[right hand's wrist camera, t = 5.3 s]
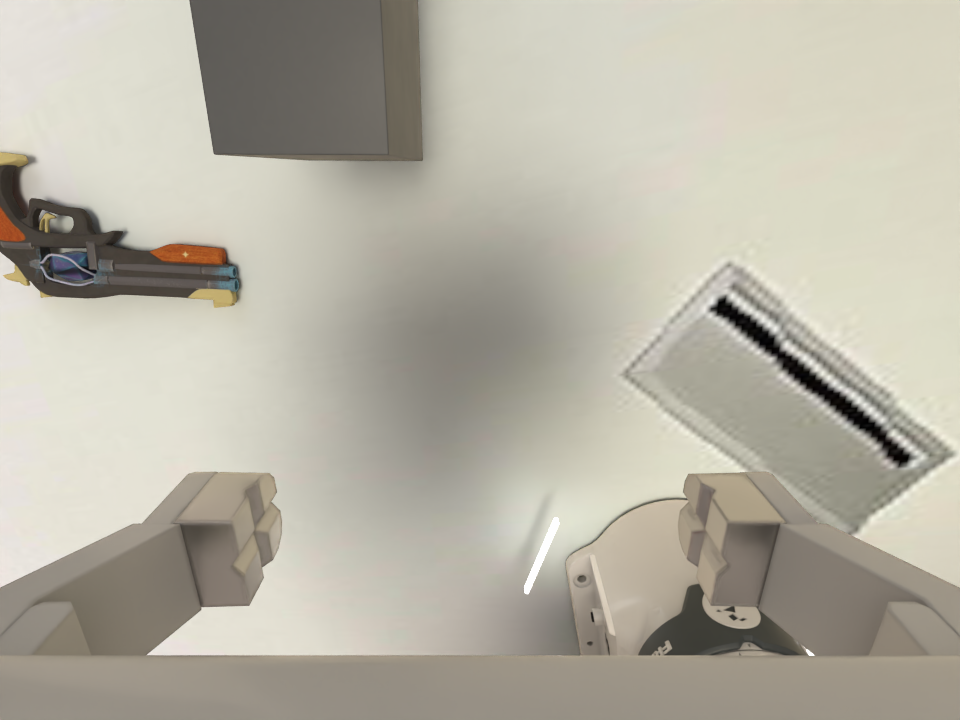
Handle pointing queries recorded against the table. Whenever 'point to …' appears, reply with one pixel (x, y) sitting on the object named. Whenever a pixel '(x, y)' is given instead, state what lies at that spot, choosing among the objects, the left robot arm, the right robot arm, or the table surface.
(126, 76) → the table surface
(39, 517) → the table surface
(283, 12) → the box
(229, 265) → the toy gun
